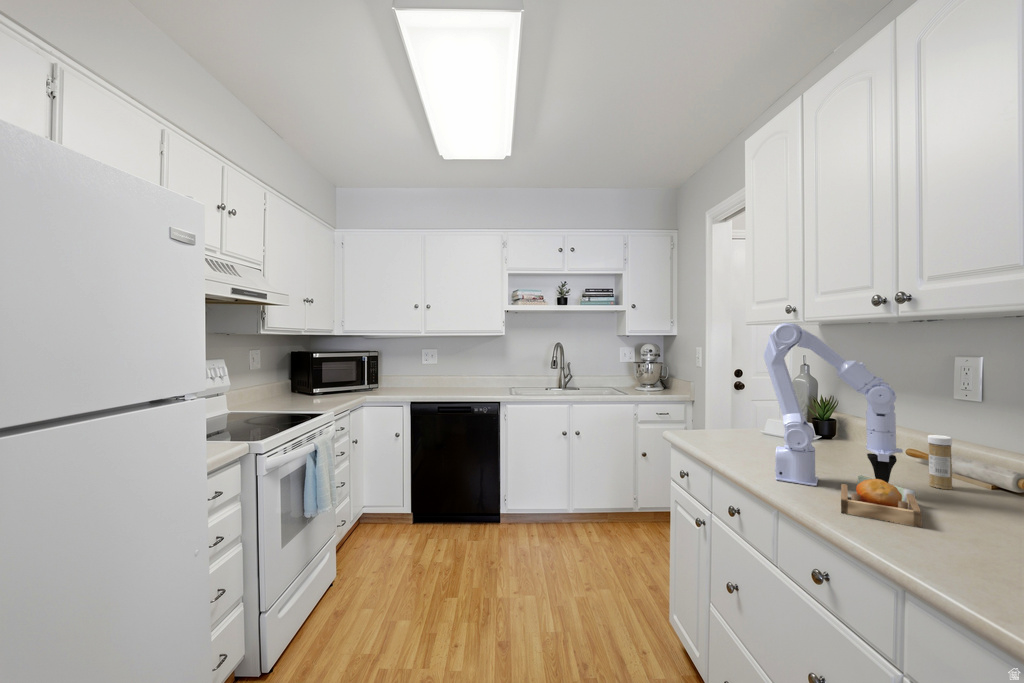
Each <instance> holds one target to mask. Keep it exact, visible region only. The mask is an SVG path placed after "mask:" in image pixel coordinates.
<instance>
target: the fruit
mask: <svg viewBox="0 0 1024 683" xmlns="http://www.w3.org/2000/svg"><path fill="white" fill-rule="evenodd" d="M895 486H896V485H894V486H893V484H890V483H889V482H888V483H887V482H885V481H883V480H881V479H875V478H871V479H867V480H864V481H862V482H860V483H859V484H857V485H856V486H855V487H856V488H855V492H856V494H859V495H860V502H866V503H872V504H878V505H884V506H891V507H897V508H898V501H902V494H901V493H900V492H899V491H898V490H897V488H896V487H895Z"/></svg>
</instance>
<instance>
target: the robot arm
mask: <svg viewBox="0 0 1024 683" xmlns="http://www.w3.org/2000/svg"><path fill="white" fill-rule="evenodd" d="M795 346H797V347H798V348H802V349H807V350H810V351H812V352H813V353H814V354H816V355H817V356H818V357H820V358H821V359H823V360H824V361H826V362H827V363H828V364H830V365H831V366H832V367H834V368H835V369H836V376H837V377H838V378H839V379H841V381H843V382H844V383H845V384H847V385H848V386H849V387H851V389H853V390H855V391H856V393H858V394H863V395H864V398H865V400H866V402H867V410H866V412H865V416H866V417H865V419H866V422H865V423H866V425H865V426H866V430H865V431H866V445H865V450H867V451H869V452H870V453H866V456H867V459H868V460H869V462H870V463H871V464H870V465H871V466H872V469H873V474H874V479H881V480H883V481H885V482H887V483H889V482H890V478H891V474H892V473H891V472H892V469H893V467H894V466H895V464H896V463H897V456H896V455H895V454H897V453H900V454H902V453H903V452H904V451H903V448H899V447H898V448H897V422H896V421H897V420H896V417H897V416H896V413H895V410H896V406H895V404H894V403H895V402H896V400H897V395H896V393H895V390H894V388H893V387H892V386H890V384H889V383H888V382H884V378H882V377H881V376H877V375H876V374H874V373H873V372H871V371H870V370H868V368H866V367H867V364H865V363H864V362H862V361H861V362H858V361H857V360H846V359H845V358H844V357H843V356H842V355H840V354H839V353H838V352H836V351H835V350H834V349H833V348H831V347H830V346H829V345H828V344H827V343H825V342H824V341H823V340H822V339H821V338H819V337H818V336H816V335H815V334H813V333H811V332H810V331H807V329H804V328H802V327H801V326H800V325H798V324H796V323H791V322H783V323H780V324H778V325H777V326H776V327H774V329H773V330H772V331H771V332H770V334H769V337H768V340H767V343H766V346H765V348H764V349H765V350H764V352H763V360H764V363H765V365H766V369H767V371H768V375H769V378H770V380H771V384H772V386H773V390H774V392H775V396H776V400H777V402H778V405H779V409H780V411H781V415H782V420H783V421H782V422H783V424H782V425H783V427H784V434H783V439H784V445H783V446H779V445H777V446H776V448H775V466H774V468H775V469H774V472H775V477H774V478H775V480H776V481H781V482H786V483H793V484H801V485H807V486H813V487H817V486H818V480H819V477H818V476H816V447H815V446H813V444H812V441H814V438H815V430H814V429H813V427H812V426H811V425H810V424H809V423H808V421H807V419H806V416H805V414H804V413H803V410H802V408H801V405H800V402H799V400H798V399H799V398H798V396H797V393H796V390H795V387H794V384H793V382H792V377H791V375H790V373H789V368H788V366H787V363H786V360H785V359H786V358H785V357H786V356H787V355H788V353H789V352H790V351H791V349H792V348H794V347H795Z"/></svg>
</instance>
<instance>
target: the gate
mask: <svg viewBox="0 0 1024 683" xmlns="http://www.w3.org/2000/svg"><path fill="white" fill-rule="evenodd" d="M857 477H858V478H857V480H858V481H857V482H858V484H859V483H860V482H862V481H864V480H867V479H872V478H871V477H867V476H864V475H858V476H857ZM858 484H857V485H858ZM892 485H893V484H892ZM893 486H895V487H896V488H897V490H898V491H899V492H900V493H901V494H902V501H904V502H907V494H912V495H914V497H915V498H916V490H915V489H911V488H905V487H904V488H903V487H900V486H897V485H893Z"/></svg>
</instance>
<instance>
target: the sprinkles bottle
mask: <svg viewBox="0 0 1024 683" xmlns="http://www.w3.org/2000/svg"><path fill="white" fill-rule="evenodd" d="M927 443H928V474H929V476H928V477H929V481H928V485H929V487H932V488H935V487H936V488H935V489H939V488H941V489H940V490H947V489H949V490H953V464H952V463H953V462H952V458H953V457H952V446H953V438H952V437H951V436H948V435H942V434H941V435H940V434H928V435H927Z"/></svg>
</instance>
